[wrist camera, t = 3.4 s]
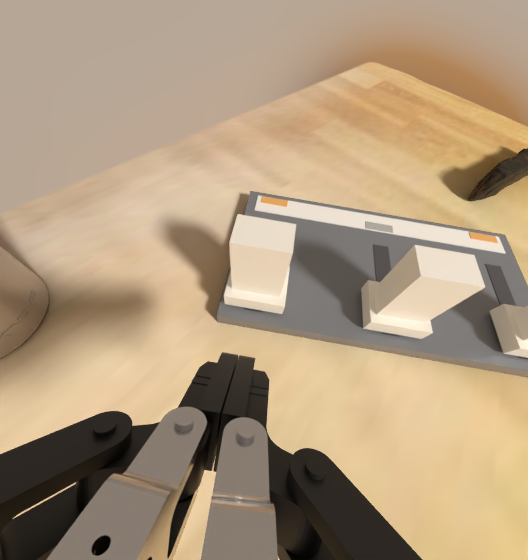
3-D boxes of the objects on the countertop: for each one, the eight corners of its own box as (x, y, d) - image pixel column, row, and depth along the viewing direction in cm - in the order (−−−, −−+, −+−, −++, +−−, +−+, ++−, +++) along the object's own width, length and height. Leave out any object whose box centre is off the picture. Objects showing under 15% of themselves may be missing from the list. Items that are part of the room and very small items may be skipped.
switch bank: (217, 322, 23) (216, 314, 22) (250, 200, 31) (250, 189, 30) (550, 381, 23) (571, 377, 21) (493, 243, 31) (506, 233, 30)
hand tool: (520, 157, 42) (549, 128, 38) (544, 171, 41) (576, 142, 37) (449, 191, 36) (475, 161, 32) (473, 209, 34) (503, 180, 30)
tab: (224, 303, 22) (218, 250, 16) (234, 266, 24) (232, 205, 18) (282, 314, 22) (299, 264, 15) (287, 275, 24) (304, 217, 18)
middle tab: (363, 328, 22) (414, 284, 15) (361, 288, 24) (405, 234, 17) (421, 339, 22) (497, 299, 15) (414, 297, 24) (478, 247, 17)
